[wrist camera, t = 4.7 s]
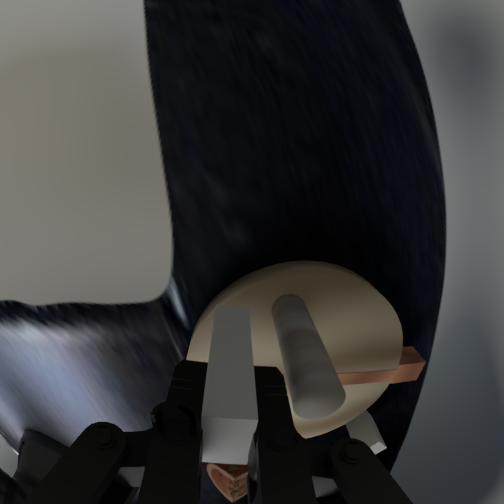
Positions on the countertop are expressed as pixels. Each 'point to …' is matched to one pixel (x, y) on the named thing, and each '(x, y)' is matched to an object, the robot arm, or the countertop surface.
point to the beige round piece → (318, 339)
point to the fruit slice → (229, 479)
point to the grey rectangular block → (366, 431)
